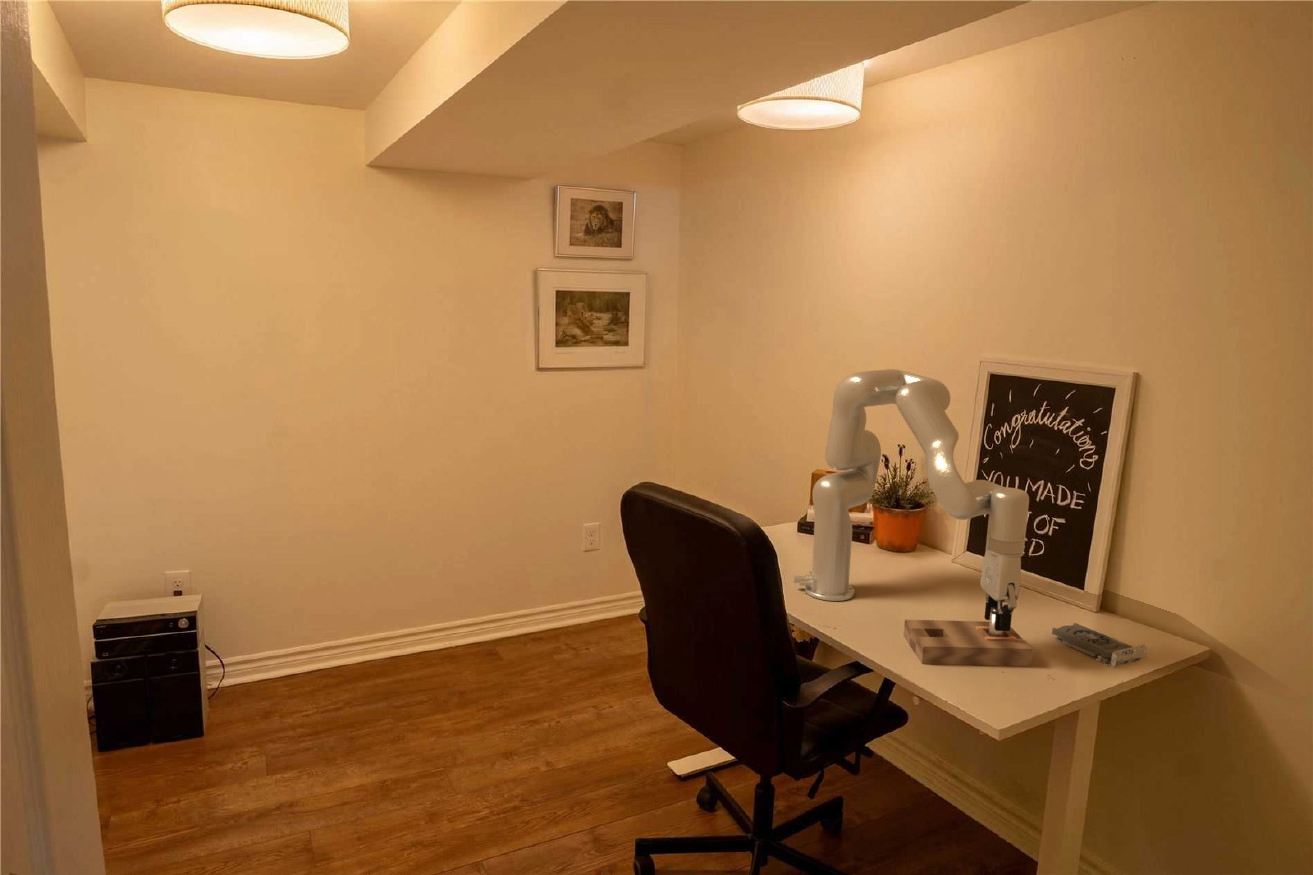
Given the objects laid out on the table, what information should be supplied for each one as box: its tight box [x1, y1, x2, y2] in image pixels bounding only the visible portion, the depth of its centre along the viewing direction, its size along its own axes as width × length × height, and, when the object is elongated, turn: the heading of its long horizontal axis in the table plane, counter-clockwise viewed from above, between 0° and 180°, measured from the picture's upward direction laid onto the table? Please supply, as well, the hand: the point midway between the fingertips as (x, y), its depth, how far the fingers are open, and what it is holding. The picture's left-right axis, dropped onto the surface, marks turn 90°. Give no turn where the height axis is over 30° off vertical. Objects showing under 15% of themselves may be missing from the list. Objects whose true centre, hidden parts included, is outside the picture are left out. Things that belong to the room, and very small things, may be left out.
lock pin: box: [988, 606, 1004, 637], centre depth 181 cm, size 3×3×10 cm
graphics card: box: [1051, 622, 1148, 669], centre depth 185 cm, size 17×4×12 cm
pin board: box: [903, 619, 1033, 668], centre depth 182 cm, size 23×14×4 cm, turn 89°
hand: (997, 624), depth 181 cm, fingers open, 4 cm apart
